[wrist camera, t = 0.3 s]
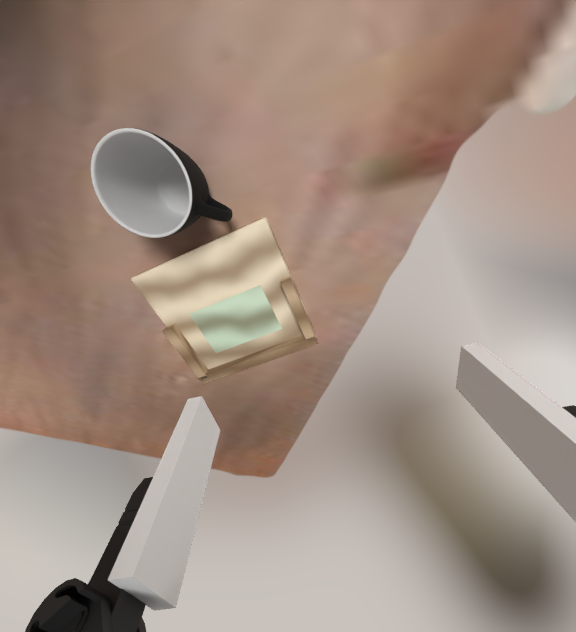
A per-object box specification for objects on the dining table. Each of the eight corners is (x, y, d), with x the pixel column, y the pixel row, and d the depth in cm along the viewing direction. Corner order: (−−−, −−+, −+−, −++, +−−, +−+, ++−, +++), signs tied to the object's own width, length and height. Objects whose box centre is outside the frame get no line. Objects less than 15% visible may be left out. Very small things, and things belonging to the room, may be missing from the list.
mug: (141, 209, 32) (87, 216, 23) (151, 132, 28) (91, 105, 19) (229, 244, 34) (210, 263, 25) (249, 178, 31) (236, 172, 22)
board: (138, 274, 36) (124, 282, 33) (266, 216, 33) (264, 218, 30) (208, 370, 45) (202, 384, 42) (315, 332, 41) (317, 343, 38)
